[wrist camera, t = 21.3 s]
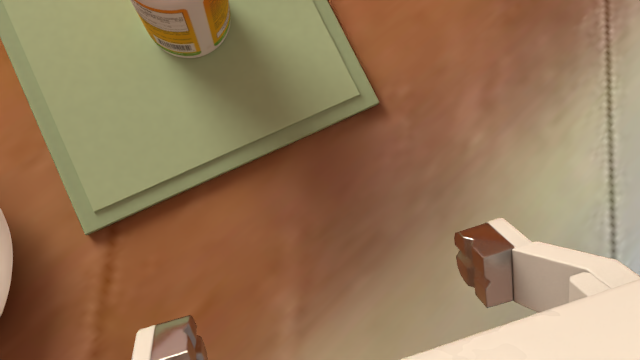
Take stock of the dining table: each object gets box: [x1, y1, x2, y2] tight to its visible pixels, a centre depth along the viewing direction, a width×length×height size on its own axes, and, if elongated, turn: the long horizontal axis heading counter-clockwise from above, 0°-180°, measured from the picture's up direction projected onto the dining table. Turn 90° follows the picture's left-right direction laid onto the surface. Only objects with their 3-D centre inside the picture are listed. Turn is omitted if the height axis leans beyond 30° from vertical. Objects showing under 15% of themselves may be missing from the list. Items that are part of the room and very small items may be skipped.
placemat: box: [0, 0, 379, 235], centre depth 32 cm, size 20×18×1 cm
